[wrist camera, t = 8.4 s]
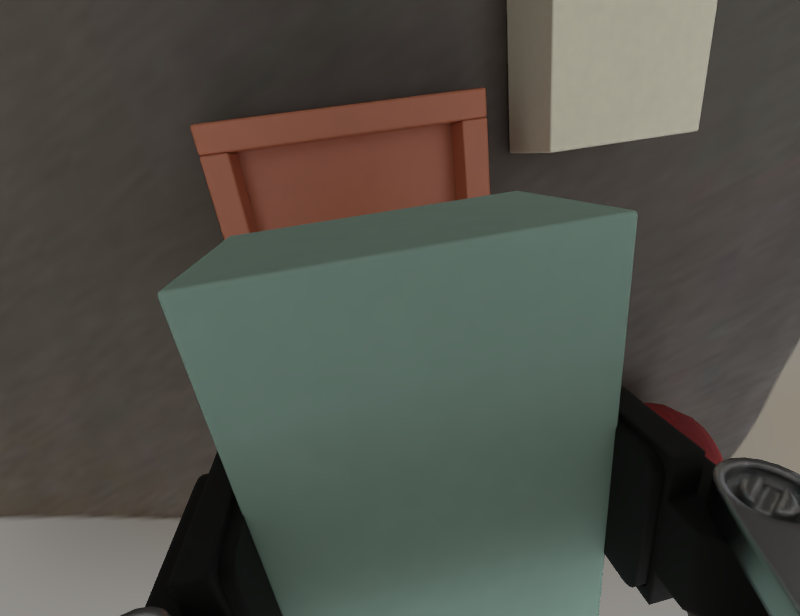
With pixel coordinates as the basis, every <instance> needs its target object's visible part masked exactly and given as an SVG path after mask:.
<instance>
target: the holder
mask: <svg viewBox="0 0 800 616" xmlns="http://www.w3.org/2000/svg"><path fill="white" fill-rule="evenodd" d="M486 115H487V109H486V89H485V88H475V89H467V90H459V91H451V92H443V93H435V94H428V95H420V96H412V97H404V98H396V99H388V100H380V101H372V102H364V103H356V104H348V105H341V106H333V107H325V108H317V109H309V110H301V111H293V112H285V113H277V114H269V115H262V116H254V117H246V118H238V119H230V120H222V121H214V122H206V123H198V124H192V125H191V126H190V128H191V132H192V135H193V138H194V141H195V145H196V148H197V151H198V154H199V155H201V156H200V161H201V165H202V168H203V171H204V175H205V178H206V181H207V184H208V188H209V191H210V194H211V197H212V201H213V204H214V207H215V211H216V214H217V217H218V220H219V224H220V227H221V230H222V234H223V237H224V240H225V239H227V238H228V237H230V236H234V235H240V234H246V233H253V232H259V231H265V230H272V229H278V228H284V227H291V226H297V225H303V224H310V223H316V222H322V221H329V220H335V219H341V218H348V217H354V216H360V215H366V214H373V213H379V212H385V211H392V210H398V209H404V208H411V207H417V206H423V205H430V204H436V203H442V202H449V201H455V200H461V199H468V198H474V197H480V196H487V195H490V181H489V155H488V129H487V118H485V117H486Z"/></svg>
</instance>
